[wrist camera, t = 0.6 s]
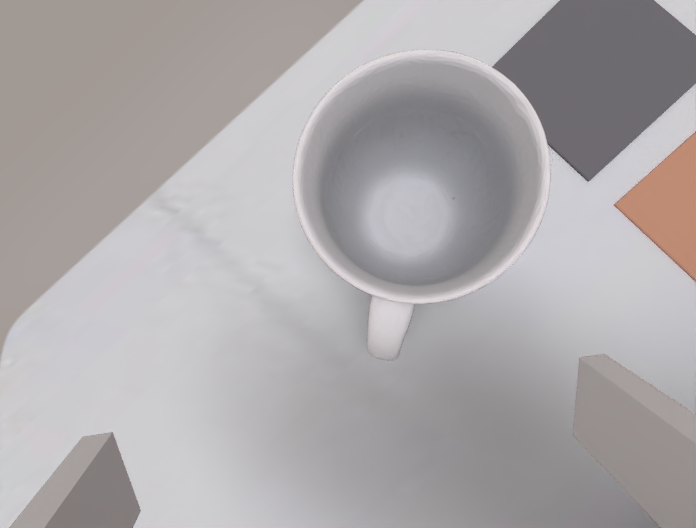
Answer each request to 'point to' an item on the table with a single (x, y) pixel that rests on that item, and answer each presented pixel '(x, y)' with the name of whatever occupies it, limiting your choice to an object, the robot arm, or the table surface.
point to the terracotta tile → (668, 206)
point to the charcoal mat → (601, 74)
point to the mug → (420, 182)
